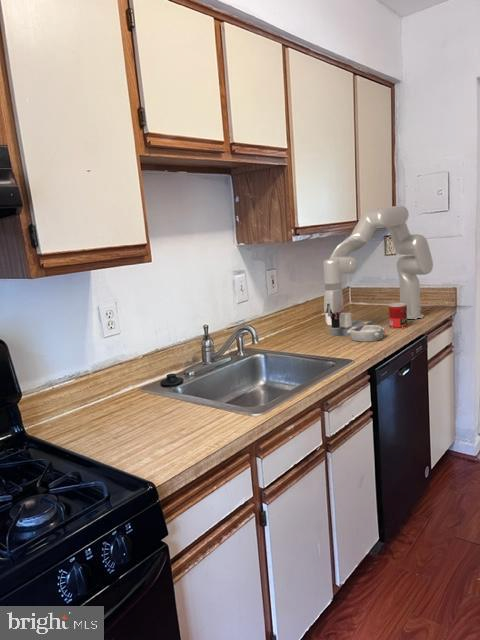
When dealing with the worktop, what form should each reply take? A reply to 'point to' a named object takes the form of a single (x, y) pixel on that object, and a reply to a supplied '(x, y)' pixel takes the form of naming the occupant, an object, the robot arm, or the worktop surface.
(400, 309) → the canned food
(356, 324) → the breaker panel
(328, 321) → the medicine bottle
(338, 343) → the worktop surface
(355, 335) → the dish
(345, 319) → the block
